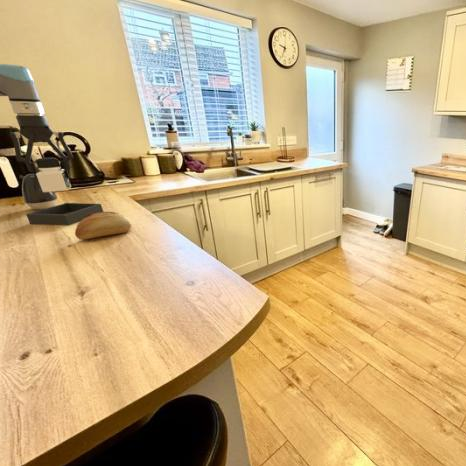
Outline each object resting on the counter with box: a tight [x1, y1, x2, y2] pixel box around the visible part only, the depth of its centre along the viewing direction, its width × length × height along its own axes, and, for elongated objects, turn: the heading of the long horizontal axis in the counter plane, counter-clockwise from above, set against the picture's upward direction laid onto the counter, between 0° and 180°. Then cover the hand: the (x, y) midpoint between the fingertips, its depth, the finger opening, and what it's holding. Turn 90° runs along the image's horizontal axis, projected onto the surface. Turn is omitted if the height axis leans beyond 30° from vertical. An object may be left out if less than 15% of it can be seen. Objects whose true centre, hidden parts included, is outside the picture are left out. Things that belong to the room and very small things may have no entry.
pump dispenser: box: [19, 173, 58, 211], centre depth 126 cm, size 10×10×15 cm
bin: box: [25, 202, 104, 226], centre depth 116 cm, size 16×16×4 cm
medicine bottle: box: [35, 157, 72, 193], centre depth 110 cm, size 7×7×12 cm
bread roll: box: [74, 211, 132, 240], centre depth 99 cm, size 10×15×8 cm, turn 137°
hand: (53, 178), depth 111 cm, fingers closed on medicine bottle, 8 cm apart
